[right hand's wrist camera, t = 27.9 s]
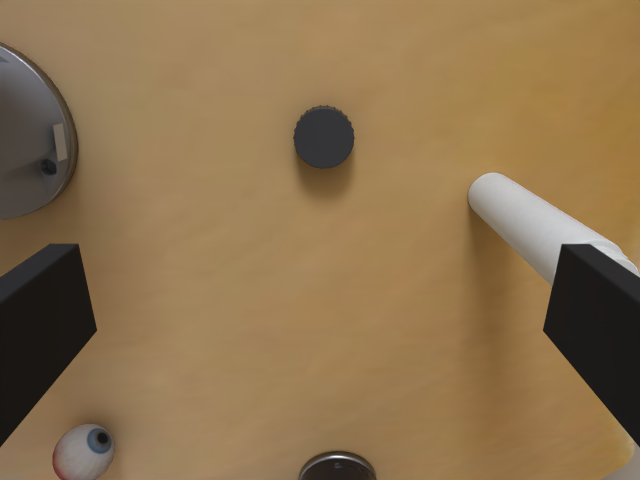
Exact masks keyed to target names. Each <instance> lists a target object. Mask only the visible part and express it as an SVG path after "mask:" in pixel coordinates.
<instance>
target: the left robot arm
mask: <svg viewBox="0 0 640 480" xmlns="http://www.w3.org/2000/svg"><path fill="white" fill-rule="evenodd" d="M299 480H376V474H375V471H374V469H373V467H372V466H371V465H370V463H368V462H367V461H366V460H365V459H363V458H362V457H360V456H358V455H356V454H353V453H349V452H341V451H336V452H328V453H324V454H321V455H318V456H316V457H314V458H312V459H311V460H310V461H308V462H307V463H306V464H305V465H304V467H303V468H302V470H301V472H300V475H299Z"/></svg>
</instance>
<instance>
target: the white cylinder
mask: <svg viewBox="0 0 640 480" xmlns="http://www.w3.org/2000/svg"><path fill="white" fill-rule="evenodd" d="M468 201H469V204H470V206H471V208H472V209H473V210H474V211H475V212H476V213H477V214H478V215H479V216H480V217H481V218H482V219H483V220H484V221H485V222H486V223H487V224H488V225H489V226H490V227H491V228H492V229H493V230H494V231H496V232H497V233H498V234H499V235H500V236H501V237H502V238H503V239H504V240H505V241H506V242H507V243H508V244H509V245H510V246H511V247H512V248H513V249H514V250H515V251H516V252H517V253H518V254H519V255H520V256H521V257H522V258H523V259H524V260H525V261H527V262H528V263H529V264H530V265H531V266H532V267H533V268H534V269H535V270H536V271H537V272H538V273H539V274H540V275H541V276H542V277H543V278H544V279H545V280H546V281H547V282H548V283H549V284H550V285H551V286H553V282H554V277H555V272H556V268H557V263H558V258H559V254H560V249H561V245H562V244H591V245H592V246H594V247H595V248H597V249H598V250H600V251H601V252H603V253H604V254H606V255H607V256H609V257H610V258H612V259H613V260H615V261H616V262H618V263H619V264H621V265H622V266H623V267H625V268H626V269H628V270H629V271H631V272H632V273H634V274H635V275H637V276H638V277H640V275H639V272H638V269H637V268H636V266H635V265H634V264H633V263H632V262H630V261H629V260H627V258H628V257H626V256H625V255H623V253H622V251H621V249H620V248H619V247H618V246H617V245H615V244H614V243H612V242H611V241H609V240H608V239H606V238H604V237H603V236H601V235H599V234H598V233H596V232H595V231H593V230H591V229H590V228H588V227H587V226H585V225H583V224H582V223H580V222H578V221H577V220H575V219H574V218H572V217H570V216H569V215H567V214H566V213H564V212H562V211H561V210H559V209H557V208H556V207H554V206H553V205H551V204H549V203H548V202H546V201H545V200H543V199H541V198H540V197H538V196H536V195H535V194H533V193H532V192H530V191H528V190H527V189H525V188H523V187H522V186H520V185H519V184H517V183H515V182H514V181H512V180H511V179H509V178H507V177H506V176H504V175H502V174H499V173H487V174H484V175H482V176H480V177H479V178H477V179H476V180H475V181H474V182H473V184H472V185H471V187H470V189H469V193H468Z"/></svg>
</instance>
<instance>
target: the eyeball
mask: <svg viewBox="0 0 640 480" xmlns="http://www.w3.org/2000/svg"><path fill="white" fill-rule="evenodd" d="M114 452H115V445H114V440H113V438H112V436H111V434H110V433H109V432H108V430H106V429H105V428H104V427H102V426H100V425H97V424H83V425H79V426H76V427H74V428H73V429H71V430H70V431H68V432H67V433H65V434H64V435H63V436H62V438H61V439H60V440H59V442H58V443H57V445H56V447H55V450H54V453H53V468H54V471H55V473H56V474H57V476H58V477H59V478H60V479H61V480H96V479H97V478H98V477H100V476H101V475H102V474H103V473H104V472H105V471H106V470H107V469H108V467H109V465H110V464H111V462H112V460H113V456H114Z"/></svg>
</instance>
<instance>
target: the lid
mask: <svg viewBox="0 0 640 480" xmlns="http://www.w3.org/2000/svg"><path fill="white" fill-rule="evenodd" d="M353 131H354V130H353V128H352V127H351V122H350V121H349V120H348V119H347V116H346V115H344V114H343V113H342V111H341V110H340V111H339V110H338V109H336V108H335V107H334V108H333V107H330V106H328V105H327V106H321V105H320V106H318V107H315V108H314V107H313V108H312V109H310V110H307V111H306V113H305V114H304V115H303V116H302V115H301V118H300V120H299V121H298V122H297V126H296V128H295V130H294V132H295V134H294V138H293V139H294V143H295V145H294V146H295V147H296V150H297V153H298V154H299V156H300V157H301V158H302V159H303V160H304V161H305V162H306V163H307V164H309V165H311V166H313V167H316V168H331V167H334V166H337V165H339V164H340V163H342V162H343V161H344V160H345V159H346V158H347V157H348V155H349V154H350V152H351V150H352V147H353V142H354V134H353Z"/></svg>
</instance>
